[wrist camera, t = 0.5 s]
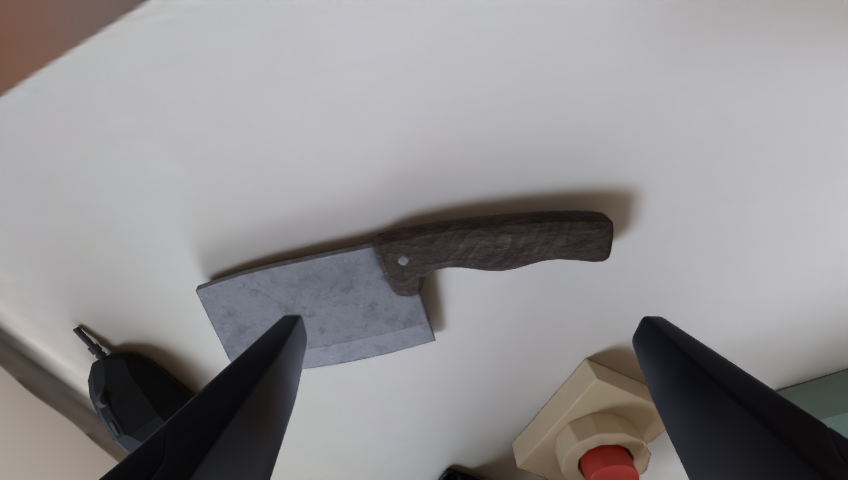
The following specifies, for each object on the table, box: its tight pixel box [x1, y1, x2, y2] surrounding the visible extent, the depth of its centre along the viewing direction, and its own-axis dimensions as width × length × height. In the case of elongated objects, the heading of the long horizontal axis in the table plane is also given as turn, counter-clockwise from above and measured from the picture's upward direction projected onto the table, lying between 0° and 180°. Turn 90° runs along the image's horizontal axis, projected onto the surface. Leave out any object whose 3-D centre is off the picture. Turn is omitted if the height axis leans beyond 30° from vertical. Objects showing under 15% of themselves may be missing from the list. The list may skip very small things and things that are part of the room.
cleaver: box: [196, 211, 613, 369], centre depth 25 cm, size 29×10×2 cm, turn 106°
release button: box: [580, 444, 639, 480], centre depth 27 cm, size 4×4×2 cm
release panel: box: [512, 359, 665, 480], centre depth 29 cm, size 11×8×4 cm
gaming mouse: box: [73, 327, 194, 454], centre depth 28 cm, size 6×15×4 cm, turn 31°
